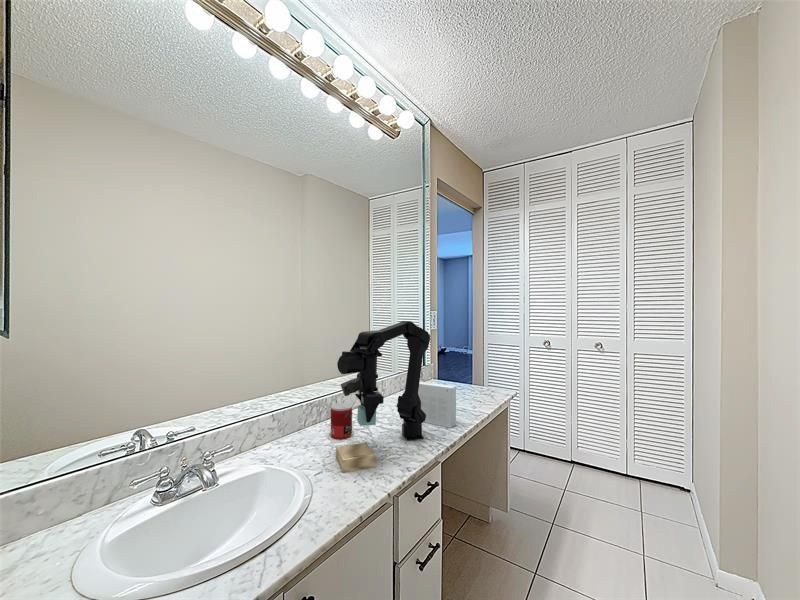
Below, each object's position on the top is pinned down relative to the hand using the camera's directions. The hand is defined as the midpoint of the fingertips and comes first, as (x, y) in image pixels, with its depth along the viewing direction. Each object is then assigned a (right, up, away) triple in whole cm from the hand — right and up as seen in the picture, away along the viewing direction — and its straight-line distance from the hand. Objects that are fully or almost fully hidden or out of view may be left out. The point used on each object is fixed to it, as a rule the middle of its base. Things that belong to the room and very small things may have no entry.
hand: (366, 419), depth 108 cm
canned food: (-11, -12, +17) cm, 24 cm away
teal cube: (0, -1, 0) cm, 1 cm away
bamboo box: (-3, -12, -5) cm, 13 cm away
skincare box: (+24, -13, +33) cm, 42 cm away
